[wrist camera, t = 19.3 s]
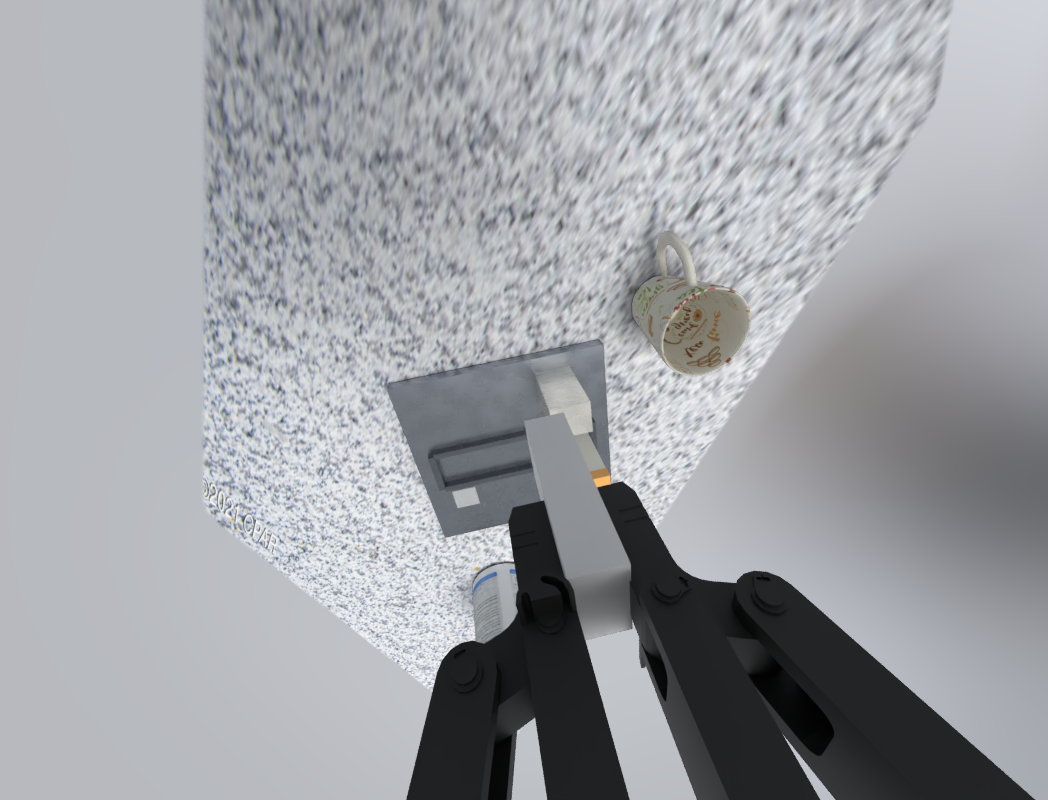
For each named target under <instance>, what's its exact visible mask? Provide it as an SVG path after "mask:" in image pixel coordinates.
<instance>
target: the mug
mask: <svg viewBox="0 0 1048 800" xmlns="http://www.w3.org/2000/svg"><path fill="white" fill-rule="evenodd" d="M667 245H671V246H672V247H673V248H674V249H675V251H676V252H677V254H678V255H679V257H680V259H681V261H682V264H683V268H684V274H685V279H684V278H679V277H674V276H668V275H667V265H666V246H667ZM656 256H657V261H658V265H659V268H660V272H661V275H660V276H656V277H653V278H651V279H649V280H647V281H646V282H645V283H643V284H642V285H641V286H640V288H639V289H638V290H637V292H636V294H635V296H634V298H633V302H632V314H633V317H634V319H635V321H636V323H637V324H638V325H639V327H640V328H641V330H642V331H643V333H644V334H645V335H646V337H647V338H648V340H649V341H650V342H651V344H652V345H653V347H654V348H655V350H656V351H657V352H658V354H659V355H660V357H661V358H662V359H663V361H664V362H665V363H666V364H667V366H668V367H670V368H671V369H672V370H673V371H675V372H677V373H679V374H682V375H685V376H702V375H706V374H709V373H712V372H714V371H716V370H718V369H720V368H721V367H723V366H724V365H726V364H727V363H728V362H729V361H730V360H731V359H733V358H734V356H735V355H736V354H737V353H738V352H739V351H740V349H741V348H742V346H743V344H744V343H745V341H746V339H747V336H748V333H749V330H750V325H751V313H750V309H749V306H748V304H747V302H746V300H745V299H744V298H743V297H742V296H741V295H740V294H739V293H738V292H736V291H734V290H732V289H730V288H727V287H723V286H719V285H714V284H709V283H704V282H699V281H697V280H696V273H695V267H694V262H693V259H692V256H691V253H690V251H689V249H688V248H687V246H686V244H685V243H684V242H683V240H682V239H681V238H680V237H679V236H678V235H677V234H676V233H674V232H672V231H664V232H663V233H662V234H661V235H660V237H659V239H658V244H657V251H656Z"/></svg>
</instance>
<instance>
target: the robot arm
mask: <svg viewBox="0 0 1048 800" xmlns="http://www.w3.org/2000/svg"><path fill="white" fill-rule="evenodd" d="M524 424H525V429H526V434H527V440H528V445H529V450H530V455H531V460H532V465H533V471H534V476H535V480H536V484H537V488H538V491H539V495H540V499H541V501H539V502H534V503H530V504H525V505H521V506H517V507H513V508H512V511H511V515H510V518H509V521H508V524H509V531H510V537H511V544H512V550H513V558H514V564H515V571H516V578H517V584H518V591H517V593H516V608H517V611H518V612H517V614H516V616H515V618H514V620H513V622H512V623H511V624H510V625H509V627H508V628H506V629H505V630H504V631H503V632H501V633H500V634H499V635H497V636H495V637H494V638H492V639H491V640H489V641H488V642H486V643H484V644H483V643H480V642H476V641H469V642H464V643H461V644H459V645H457V646H456V647H454V648H453V649H451V650H450V651H449V653H448V654H447V655H446V656H445V657H444V659H443V660H442V662H441V665H440V667H439V670H438V672H437V676H436V680H435V684H434V688H433V692H432V696H431V700H430V705H429V709H428V713H427V717H426V721H425V725H424V729H423V733H422V737H421V742H420V746H419V750H418V754H417V758H416V762H415V766H414V770H413V775H412V779H411V783H410V787H409V791H408V795H407V800H511V798H512V785H513V774H514V761H515V749H516V737H517V730H519V729H520V728H521V727H523V726H524V725H525V724H527V723H528V722H529V721H531V720H532V719H533V718H535V719H536V726H537V732H538V739H539V746H540V753H541V760H542V766H543V774H544V780H545V786H546V793H547V800H629V796H628V792H627V789H626V785H625V782H624V778H623V774H622V771H621V767H620V764H619V760H618V756H617V753H616V749H615V746H614V742H613V738H612V735H611V731H610V728H609V724H608V720H607V717H606V713H605V710H604V707H603V702H602V699H601V695H600V692H599V688H598V684H597V681H596V677H595V674H594V670H593V666H592V663H591V659H590V656H589V652H588V649H587V645H586V641H585V640H589V639H593V638H597V637H601V636H605V635H609V634H613V633H617V632H621V631H625V630H629V629H632V620H633V623H634V625H635V628H636V630H637V633H638V635H639V657H640V664H641V668H644V667H645V664H646V667H647V670H648V672H649V675H650V678H651V680H652V683H653V685H654V688H655V691H656V693H657V696H658V699H659V701H660V704H661V706H662V709H663V712H664V714H665V717H666V719H667V722H668V725H669V727H670V730H671V732H672V735H673V738H674V740H675V743H676V746H677V748H678V751H679V754H680V756H681V758H682V761H683V764H684V767H685V769H686V772H687V774H688V777H689V780H690V782H691V785H692V788H693V790H694V793H695V795H696V798H697V800H820V798H819V797H818V795H817V793H816V792H815V790H814V788H813V786H812V785H811V783H810V781H809V779H808V778H807V776H806V774H805V772H804V771H803V769H802V767H801V766H800V764H799V762H798V760H797V759H796V757H795V755H794V753H793V752H792V750H791V748H790V747H789V745H788V743H787V741H786V740H785V738H786V739H787V740H788V741H789V742H790V744H791V745H792V746H793V747H794V749H795V750H796V751H797V752H798V754H799V755H800V756H801V757H802V758H803V760H804V761H805V762H806V763H807V765H808V766H809V767H810V768H811V770H812V771H813V772H814V773H815V775H816V776H817V777H818V778H819V780H820V781H821V782H822V783H823V785H824V786H825V787H826V788H827V790H828V791H829V792H830V793H831V794H832V796H833V797H834V798H835V800H1035V799H1033V798H1032V797H1031V796H1030V795H1029V794H1028V793H1027V792H1026V791H1024V790H1023V789H1022V788H1021V787H1020V786H1019V785H1018V784H1017V783H1015V782H1014V781H1013V780H1012V779H1011V778H1010V777H1008V775H1006V774H1005V773H1004V772H1003V771H1002V770H1001V769H1000V768H998V767H997V766H996V765H995V764H994V763H993V762H992V761H991V760H989V759H988V758H987V757H986V756H985V755H984V754H983V753H981V752H980V751H979V750H978V749H977V748H976V747H975V746H974V745H972V744H971V743H970V742H969V741H968V740H967V739H966V738H964V737H963V736H962V735H961V734H960V733H959V732H958V731H957V730H955V729H954V728H953V727H952V726H951V725H950V724H949V723H947V722H946V721H945V720H944V719H943V718H942V717H941V716H939V715H938V714H937V713H936V712H935V711H934V710H933V709H932V708H930V707H929V706H928V705H927V704H926V703H925V702H924V701H922V700H921V699H920V698H919V697H918V696H917V695H916V694H915V693H913V692H912V691H911V690H910V689H909V688H908V687H907V686H905V685H904V684H903V683H902V682H901V681H900V680H898V678H896V677H895V676H894V675H893V674H892V673H891V672H890V671H888V670H887V669H886V668H885V667H884V666H883V665H881V663H879V662H878V661H877V660H876V659H875V658H874V657H873V656H871V655H870V654H869V653H868V652H867V651H866V650H864V649H863V648H862V647H861V646H860V645H859V644H858V643H857V642H855V641H854V640H853V639H852V638H851V637H850V636H849V635H848V634H846V633H845V632H844V631H843V630H842V629H841V628H840V627H838V626H837V625H836V624H835V623H834V622H833V621H832V620H831V619H829V618H828V617H827V616H826V615H825V614H824V613H823V612H822V611H820V610H819V609H818V608H817V607H816V606H815V605H814V604H812V603H811V602H810V601H809V600H808V599H807V598H806V597H805V596H803V595H802V594H801V593H800V592H799V591H798V590H797V589H795V588H794V587H793V586H792V585H791V584H789V583H788V582H786V581H785V580H784V579H782V578H781V577H779V576H776V575H773V574H771V573H768V572H762V571H752V572H748V573H745V574H743V575H742V576H741V577H740V578H739V579H738V580H737V583H727V582H714V581H707V580H701V579H699V578H696V577H693V576H691V575H690V574H688V573H686V572H685V571H683V570H682V569H681V568H680V567H679V566H678V565H677V564H676V563H675V561H674V560H673V558H672V557H671V555H670V553H669V551H668V549H667V548H666V546H665V544H664V542H663V540H662V539H661V537H660V535H659V533H658V531H657V530H656V528H655V526H654V524H653V522H652V521H651V519H650V518H649V515H648V514H647V512H646V510H645V508H644V507H643V505H642V503H641V501H640V499H639V497H638V496H637V494H636V492H635V491H634V490H633V489H631V488H630V487H629V486H628V485H626V484H625V483H624V482H618V483H613V484H609V485H605V486H600V487H596V485H595V482H594V480H593V478H592V476H591V473H590V471H589V469H588V467H587V464H586V462H585V460H584V458H583V455H582V453H581V451H580V449H579V446H578V444H577V442H576V440H575V437H574V435H573V433H572V431H571V428H570V426H569V424H568V422H567V419H566V417H565V415H564V413H558V414H554V415H549V416H545V417H540V418H535V419H531V420H526V421H524ZM783 735H784V736H785V738H784V736H783Z"/></svg>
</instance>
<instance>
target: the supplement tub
mask: <svg viewBox="0 0 1048 800" xmlns="http://www.w3.org/2000/svg"><path fill="white" fill-rule="evenodd" d="M517 591H518V584H517V578H516V571H515V564H511V563H504V564H498V565H494V566H492V567H490V568H487V569H485V570H484V571H482V572H481V573H480V574H479V575H478V576H477V578H476V579H475V581H474V584H473V605H474V622H475V639H476V642H480V643H483V644H484V643H486V642H488V641H489V640H491V639H492V638H494V637H495V636H497V635H499V634H500V633H501V632H503V631H504V630H505V629H506V628H508V627H509V625H510V624H511V623H512V622H513V620H514V618H515V616H516V614H517V612H518V611H517V608H516V593H517Z"/></svg>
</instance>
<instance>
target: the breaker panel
mask: <svg viewBox="0 0 1048 800" xmlns="http://www.w3.org/2000/svg"><path fill="white" fill-rule="evenodd" d="M387 391H388V394H389V396H390V399H391V401H392V404H393V406H394V409H395V411H396V414H397V416H398V419H399V421H400V424H401V427H402V429H403V432H404V434H405V437H406V439H407V442H408V444H409V447H410V449H411V452H412V454H413V457H414V460H415V462H416V465H417V467H418V470H419V472H420V475H421V477H422V480H423V482H424V485H425V487H426V490H427V493H428V495H429V498H430V500H431V503H432V505H433V508H434V510H435V513H436V515H437V518H438V520H439V523H440V525H441V528H442V531H443V533H444V536H445V538H446V537H450V536H454V535H459V534H463V533H467V532H472V531H476V530H481V529H485V528H489V527H494V526H498V525H502V524H507V523H508V521H509V518H510V515H511V511H512V508H513V507H517V506H521V505H525V504H530V503H534V502H539V501H541V499H540V495H539V491H538V488H537V484H536V480H535V476H534V471H533V465H532V460H531V455H530V450H529V445H528V440H527V434H526V429H525V424H524V421H526V420H531V419H535V418H540V417H545V416H549V415H554V414H558V413H564V415H565V417H566V419H567V422H568V424H569V426H570V428H571V431H572V433H573V435H574V436H575V435H579V434H584V433H588V434H589V436H590V438H591V440H592V442H593V444H594V446H595V448H596V450H597V452H598V454H599V456H600V457H601V459H602V461H603V463H604V465H605V467H606V468H607V470H608V472H609V474H610V480H611V470H610V452H609V435H608V417H607V399H606V382H605V364H604V347H603V343H602V342H601V341H600V340H594V341H589V342H585V343H580V344H575V345H570V346H566V347H561V348H556V349H551V350H547V351H542V352H537V353H532V354H527V355H523V356H518V357H513V358H508V359H504V360H499V361H494V362H489V363H485V364H480V365H475V366H470V367H465V368H461V369H456V370H451V371H446V372H442V373H437V374H432V375H427V376H423V377H418V378H413V379H408V380H404V381H399V382H394V383H389V385H388V389H387Z"/></svg>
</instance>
